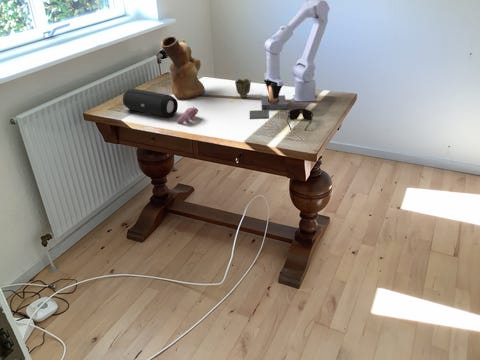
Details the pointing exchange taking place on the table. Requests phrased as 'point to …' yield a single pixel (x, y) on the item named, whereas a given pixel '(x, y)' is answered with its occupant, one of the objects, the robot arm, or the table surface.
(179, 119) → the pink elongated curved piece
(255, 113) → the mat
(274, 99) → the tapered peach cylinder
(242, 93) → the cup
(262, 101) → the housing
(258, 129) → the table surface
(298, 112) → the sunglasses
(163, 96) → the portable speaker
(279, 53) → the robot arm
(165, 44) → the ceramic vessel
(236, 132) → the table surface
